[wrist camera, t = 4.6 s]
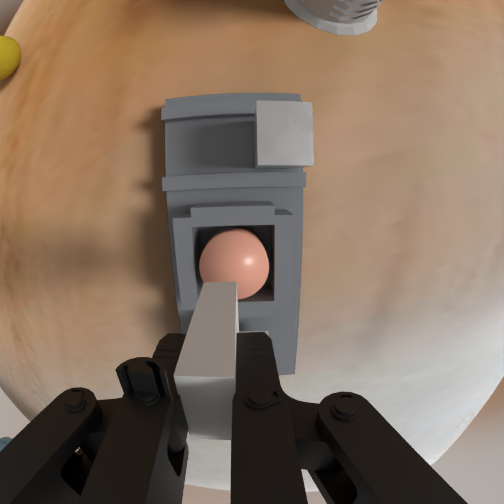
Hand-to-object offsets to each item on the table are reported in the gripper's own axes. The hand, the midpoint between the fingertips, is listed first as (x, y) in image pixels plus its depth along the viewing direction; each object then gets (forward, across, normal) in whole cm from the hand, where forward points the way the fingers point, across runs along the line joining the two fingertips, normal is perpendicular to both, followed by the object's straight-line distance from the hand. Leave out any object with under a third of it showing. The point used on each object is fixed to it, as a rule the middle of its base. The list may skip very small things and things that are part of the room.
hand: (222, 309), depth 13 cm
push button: (+8, -1, -1) cm, 8 cm away
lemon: (+11, +25, -24) cm, 36 cm away
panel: (+10, -1, 0) cm, 10 cm away
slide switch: (+8, -4, -8) cm, 12 cm away
